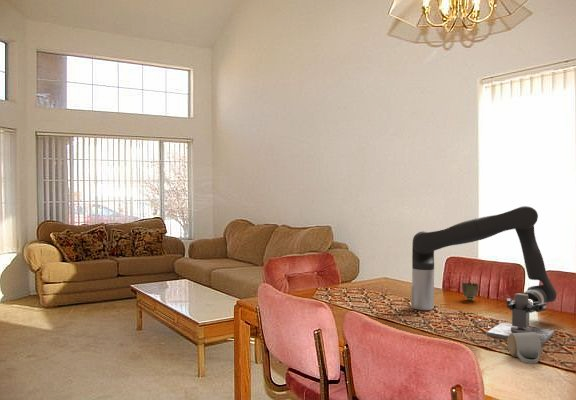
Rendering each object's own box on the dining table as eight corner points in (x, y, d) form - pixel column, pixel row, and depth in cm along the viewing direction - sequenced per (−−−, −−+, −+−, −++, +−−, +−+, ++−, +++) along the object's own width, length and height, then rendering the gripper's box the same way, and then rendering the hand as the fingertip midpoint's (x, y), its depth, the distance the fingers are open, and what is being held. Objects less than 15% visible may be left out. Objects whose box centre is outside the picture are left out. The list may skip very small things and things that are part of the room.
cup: (479, 302, 237) (479, 285, 237) (462, 301, 238) (463, 284, 238) (476, 299, 244) (477, 282, 244) (460, 298, 246) (461, 281, 245)
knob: (512, 325, 183) (512, 294, 182) (515, 323, 186) (516, 292, 186) (525, 327, 180) (526, 295, 180) (529, 325, 183) (529, 293, 183)
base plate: (486, 335, 182) (487, 320, 181) (501, 325, 196) (502, 311, 196) (542, 345, 170) (542, 329, 170) (553, 334, 184) (554, 319, 184)
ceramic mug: (505, 352, 162) (506, 328, 162) (532, 353, 162) (532, 329, 161) (518, 364, 152) (518, 338, 151) (546, 365, 151) (547, 339, 151)
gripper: (511, 288, 198) (498, 295, 185) (552, 293, 190) (541, 300, 176) (511, 307, 199) (497, 315, 185) (551, 313, 190) (540, 322, 176)
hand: (519, 308), depth 181 cm, fingers closed on knob, 4 cm apart
